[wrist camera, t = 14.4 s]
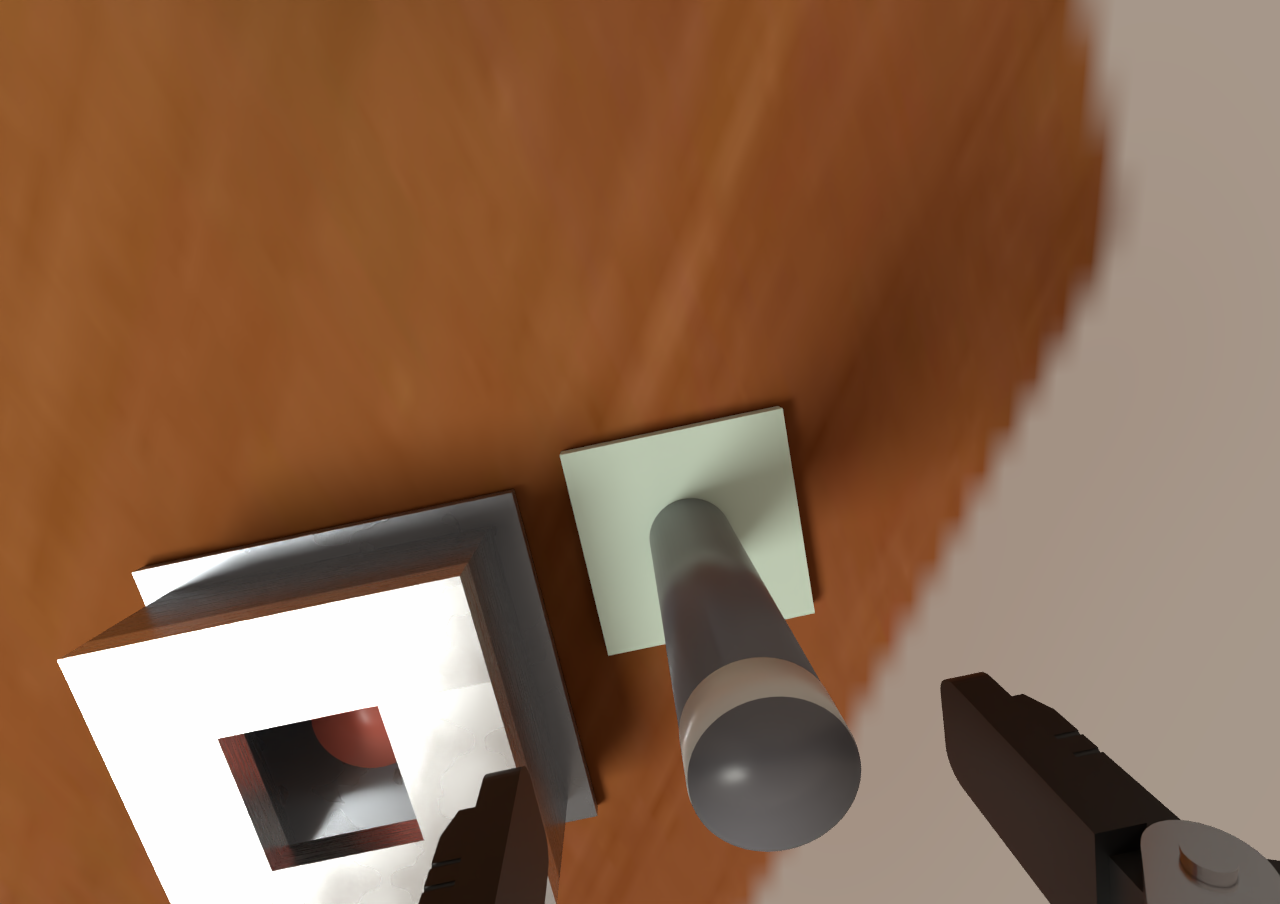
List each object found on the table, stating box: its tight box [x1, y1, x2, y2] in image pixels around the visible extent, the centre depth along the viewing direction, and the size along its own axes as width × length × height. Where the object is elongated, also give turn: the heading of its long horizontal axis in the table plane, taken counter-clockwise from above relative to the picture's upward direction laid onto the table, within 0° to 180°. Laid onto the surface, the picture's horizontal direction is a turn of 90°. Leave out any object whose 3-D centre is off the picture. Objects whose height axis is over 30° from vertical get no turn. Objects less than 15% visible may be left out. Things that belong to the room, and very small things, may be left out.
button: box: [311, 705, 397, 768], centre depth 23 cm, size 4×4×1 cm
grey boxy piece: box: [57, 489, 598, 904], centre depth 21 cm, size 14×14×5 cm
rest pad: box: [560, 406, 815, 656], centre depth 22 cm, size 8×8×1 cm
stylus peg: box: [649, 498, 861, 852], centre depth 16 cm, size 3×3×12 cm
